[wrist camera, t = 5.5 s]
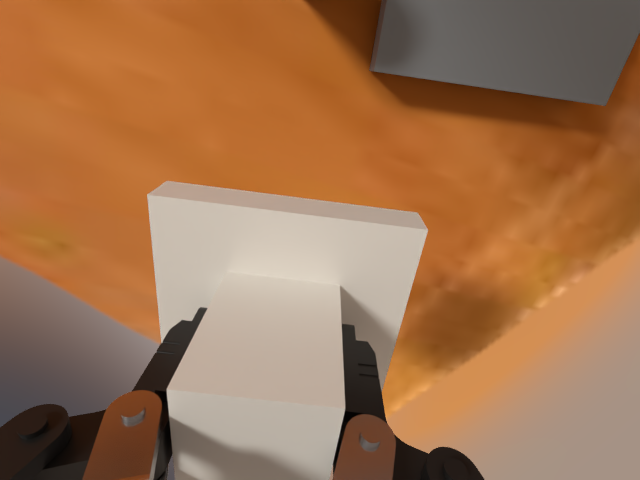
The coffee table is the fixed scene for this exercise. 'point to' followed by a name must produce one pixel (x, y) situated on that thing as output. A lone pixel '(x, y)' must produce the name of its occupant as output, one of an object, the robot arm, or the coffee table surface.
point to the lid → (272, 321)
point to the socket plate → (510, 44)
